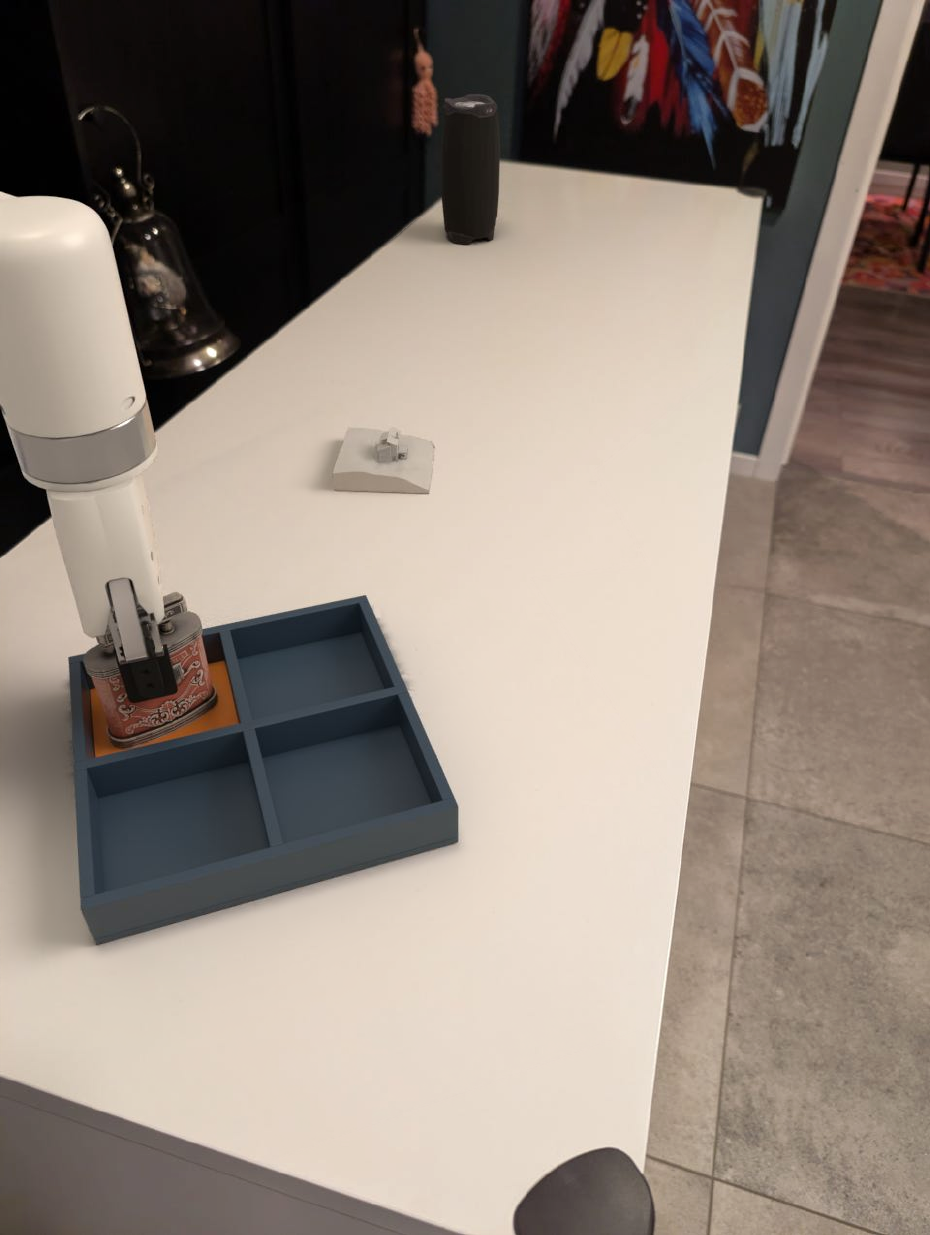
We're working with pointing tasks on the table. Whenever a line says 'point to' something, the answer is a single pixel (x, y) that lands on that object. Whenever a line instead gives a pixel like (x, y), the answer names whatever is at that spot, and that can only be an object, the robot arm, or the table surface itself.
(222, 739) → the tray
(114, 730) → the lighter
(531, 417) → the table surface
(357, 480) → the miniature house
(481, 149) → the portable speaker
